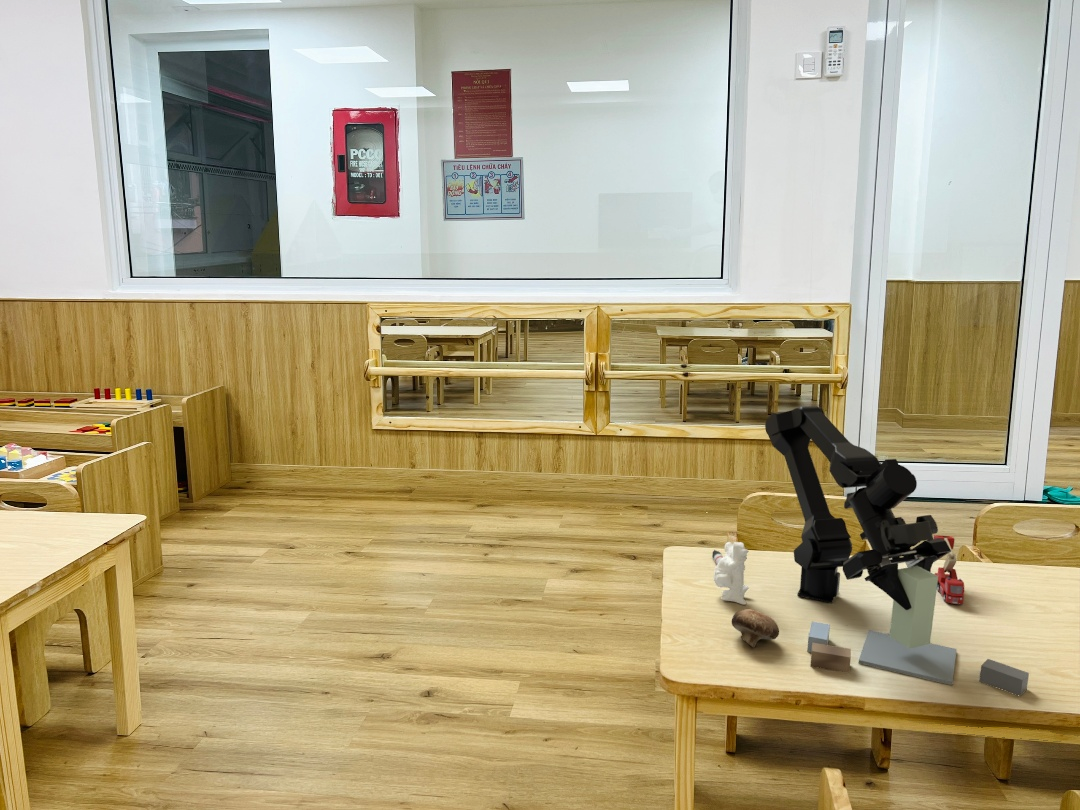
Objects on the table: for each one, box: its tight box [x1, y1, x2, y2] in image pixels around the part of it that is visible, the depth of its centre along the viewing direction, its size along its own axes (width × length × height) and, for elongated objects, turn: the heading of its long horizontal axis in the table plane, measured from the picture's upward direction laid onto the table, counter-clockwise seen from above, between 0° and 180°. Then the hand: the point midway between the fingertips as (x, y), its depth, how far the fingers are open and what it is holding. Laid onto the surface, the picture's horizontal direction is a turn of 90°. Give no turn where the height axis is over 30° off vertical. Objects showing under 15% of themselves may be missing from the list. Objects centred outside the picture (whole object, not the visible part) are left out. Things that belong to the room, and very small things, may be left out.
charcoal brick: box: [978, 658, 1030, 697], centre depth 134 cm, size 6×3×3 cm, turn 45°
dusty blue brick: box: [806, 621, 831, 653], centre depth 146 cm, size 6×3×3 cm, turn 157°
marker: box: [712, 549, 724, 565], centre depth 177 cm, size 15×2×2 cm, turn 2°
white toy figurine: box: [713, 541, 749, 606], centre depth 162 cm, size 8×7×12 cm
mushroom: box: [731, 608, 780, 649], centre depth 146 cm, size 8×8×6 cm
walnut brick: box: [810, 643, 852, 674], centre depth 139 cm, size 6×3×3 cm, turn 70°
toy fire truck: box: [933, 534, 965, 605], centre depth 167 cm, size 3×14×10 cm, turn 168°
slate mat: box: [858, 629, 957, 686], centre depth 142 cm, size 14×12×1 cm
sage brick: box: [889, 566, 938, 648], centre depth 140 cm, size 4×4×12 cm
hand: (920, 606), depth 139 cm, fingers closed on sage brick, 4 cm apart
